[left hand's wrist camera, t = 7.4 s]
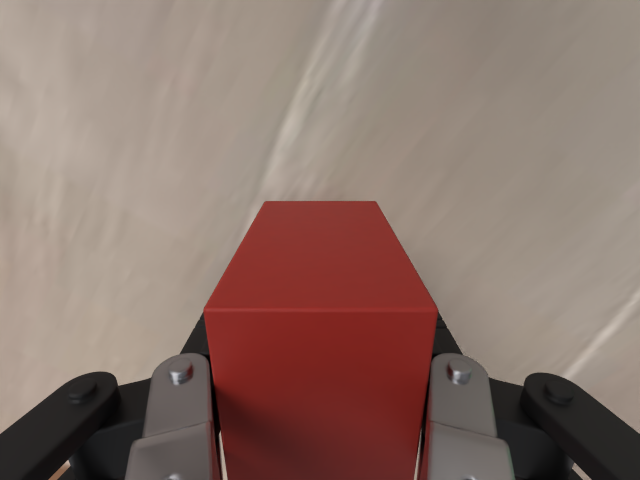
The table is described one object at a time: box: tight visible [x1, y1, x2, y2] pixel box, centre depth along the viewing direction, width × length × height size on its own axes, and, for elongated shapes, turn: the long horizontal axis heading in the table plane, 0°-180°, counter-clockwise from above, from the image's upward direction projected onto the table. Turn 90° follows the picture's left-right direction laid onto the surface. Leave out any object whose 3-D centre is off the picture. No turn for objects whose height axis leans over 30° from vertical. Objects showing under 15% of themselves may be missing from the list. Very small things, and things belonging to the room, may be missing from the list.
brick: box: [203, 201, 438, 480], centre depth 12 cm, size 5×6×8 cm
